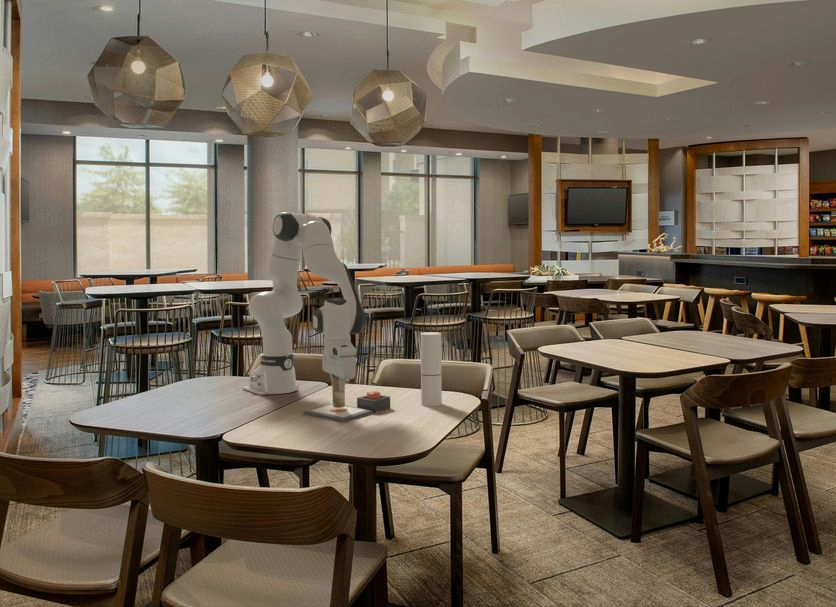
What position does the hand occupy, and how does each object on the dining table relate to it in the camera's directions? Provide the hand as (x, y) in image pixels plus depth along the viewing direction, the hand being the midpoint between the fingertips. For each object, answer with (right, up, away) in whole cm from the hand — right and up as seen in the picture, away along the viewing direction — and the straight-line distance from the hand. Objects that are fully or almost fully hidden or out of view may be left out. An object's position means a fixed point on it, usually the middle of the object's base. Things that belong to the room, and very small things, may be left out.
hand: (338, 388), depth 220 cm
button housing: (+11, -8, +7) cm, 15 cm away
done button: (+11, -5, +7) cm, 14 cm away
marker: (0, -6, +1) cm, 6 cm away
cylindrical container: (+31, -7, +13) cm, 35 cm away
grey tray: (0, -8, +1) cm, 8 cm away
